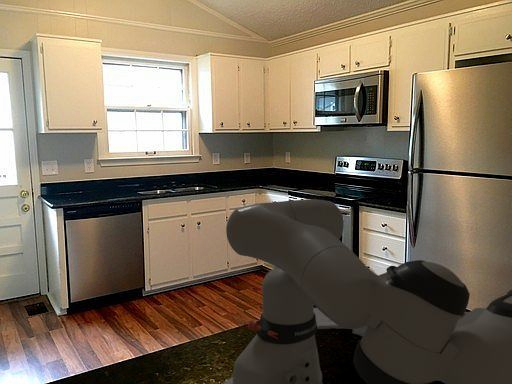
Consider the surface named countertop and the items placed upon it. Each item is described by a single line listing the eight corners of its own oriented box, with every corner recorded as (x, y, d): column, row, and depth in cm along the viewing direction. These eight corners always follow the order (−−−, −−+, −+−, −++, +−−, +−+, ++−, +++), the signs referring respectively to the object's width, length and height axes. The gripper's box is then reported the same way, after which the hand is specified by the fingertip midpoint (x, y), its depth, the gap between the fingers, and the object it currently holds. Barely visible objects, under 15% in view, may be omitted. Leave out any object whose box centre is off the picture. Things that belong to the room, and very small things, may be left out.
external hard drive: (339, 312, 132) (347, 330, 119) (312, 313, 132) (317, 330, 119) (339, 307, 131) (347, 324, 119) (312, 307, 132) (317, 325, 119)
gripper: (481, 365, 94) (420, 344, 104) (514, 335, 107) (457, 319, 118) (482, 337, 93) (421, 319, 103) (515, 310, 107) (458, 297, 117)
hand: (441, 319), depth 111 cm, fingers open, 8 cm apart
